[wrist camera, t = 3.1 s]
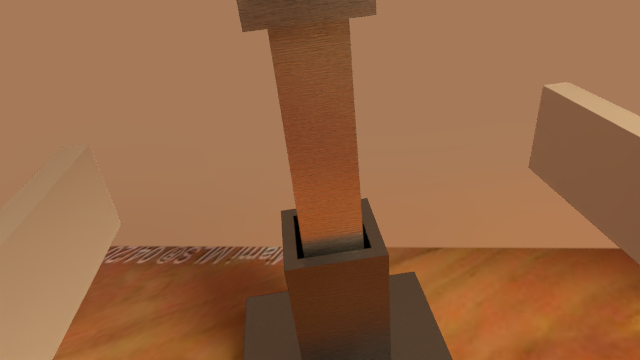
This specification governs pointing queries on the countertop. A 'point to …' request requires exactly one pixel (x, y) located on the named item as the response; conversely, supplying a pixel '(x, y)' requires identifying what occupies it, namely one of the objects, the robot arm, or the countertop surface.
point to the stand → (342, 306)
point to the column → (317, 113)
